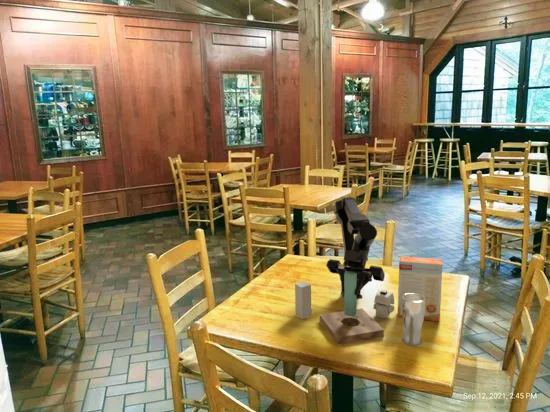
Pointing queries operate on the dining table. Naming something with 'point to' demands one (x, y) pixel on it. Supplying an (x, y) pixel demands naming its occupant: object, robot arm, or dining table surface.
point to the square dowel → (303, 299)
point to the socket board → (346, 334)
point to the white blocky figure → (383, 303)
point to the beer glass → (412, 318)
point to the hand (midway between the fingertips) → (349, 293)
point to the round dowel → (350, 293)
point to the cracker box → (421, 283)
